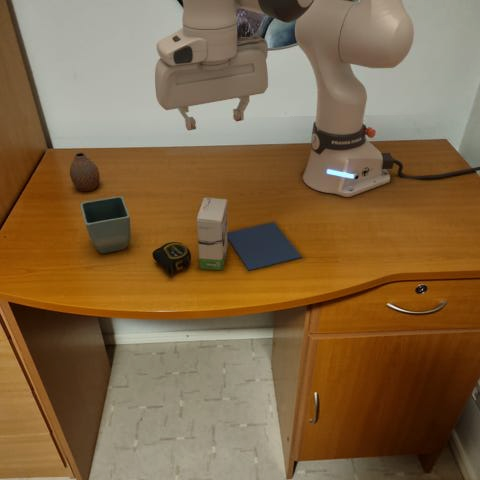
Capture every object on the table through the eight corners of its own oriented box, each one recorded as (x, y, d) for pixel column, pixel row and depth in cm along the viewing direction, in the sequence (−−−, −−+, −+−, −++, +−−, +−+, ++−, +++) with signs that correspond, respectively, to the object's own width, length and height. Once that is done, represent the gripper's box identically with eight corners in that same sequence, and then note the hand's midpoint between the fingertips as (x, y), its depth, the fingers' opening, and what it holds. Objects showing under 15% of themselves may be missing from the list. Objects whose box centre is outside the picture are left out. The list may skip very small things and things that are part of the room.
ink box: (222, 271, 98) (221, 221, 89) (198, 269, 98) (195, 219, 90) (228, 246, 104) (227, 197, 95) (205, 244, 104) (203, 195, 96)
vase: (68, 191, 120) (59, 158, 114) (84, 178, 125) (76, 146, 119) (91, 196, 118) (83, 163, 112) (107, 183, 123) (100, 150, 117)
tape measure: (152, 262, 100) (149, 247, 97) (181, 251, 102) (179, 236, 100) (168, 280, 96) (165, 265, 93) (197, 267, 98) (196, 253, 96)
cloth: (273, 223, 110) (273, 221, 110) (301, 258, 101) (301, 256, 101) (224, 234, 107) (224, 233, 107) (248, 271, 98) (248, 269, 97)
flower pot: (128, 230, 108) (122, 194, 102) (136, 252, 102) (130, 216, 96) (89, 238, 106) (79, 202, 99) (94, 261, 100) (85, 224, 94)
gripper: (260, 28, 85) (259, 108, 94) (146, 44, 79) (158, 127, 89) (275, 39, 80) (272, 121, 90) (157, 56, 75) (167, 141, 85)
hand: (215, 124), depth 90 cm, fingers open, 8 cm apart
